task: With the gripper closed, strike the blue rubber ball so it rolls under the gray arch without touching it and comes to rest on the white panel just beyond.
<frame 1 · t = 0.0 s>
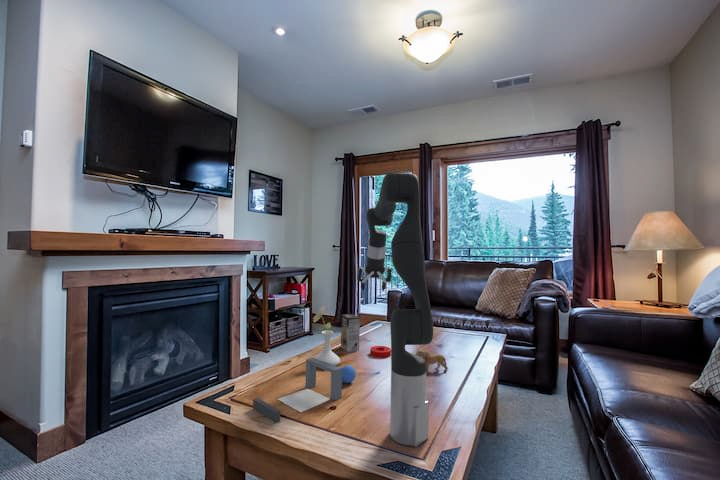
hand: (373, 289, 146), 31 cm above the table, tool tilted 20°, fingers open, 8 cm apart
flower in vase: (325, 366, 141), on the table
lion figurine: (431, 372, 137), on the table
white panel: (304, 399, 109), on the table
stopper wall: (265, 415, 99), on the table
gray arch: (322, 392, 115), on the table
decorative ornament: (380, 355, 157), on the table
coffee box: (349, 349, 165), on the table
ball: (347, 374, 124), on the table
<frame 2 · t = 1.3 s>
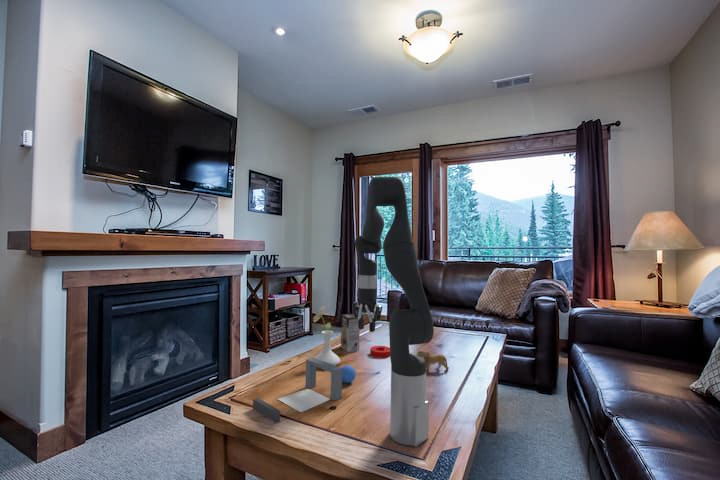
hand: (366, 330, 132), 17 cm above the table, tool pointing down, fingers open, 5 cm apart
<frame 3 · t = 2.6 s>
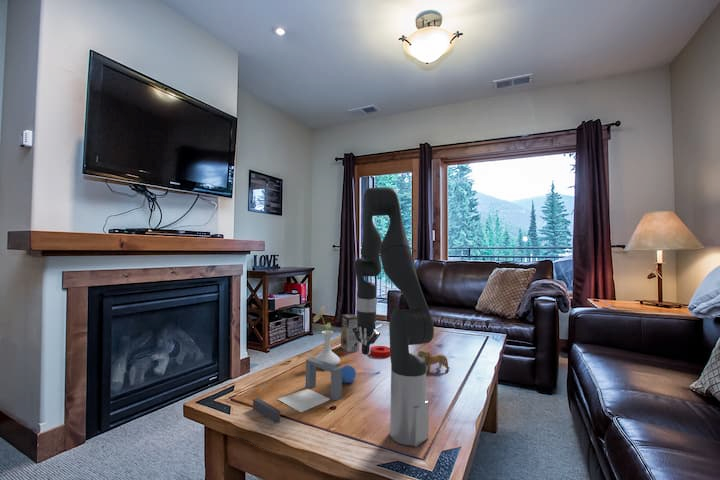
hand: (365, 354, 132), 8 cm above the table, tool pointing down, fingers closed
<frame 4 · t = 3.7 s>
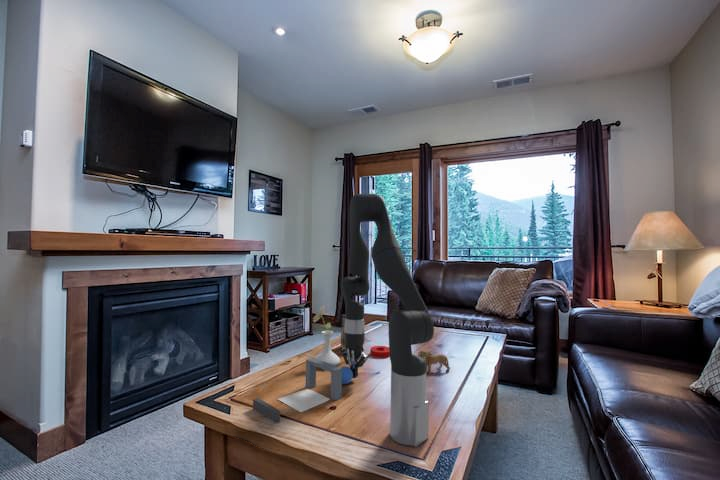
hand: (353, 377, 125), 1 cm above the table, tool pointing down, fingers closed
ball: (344, 375, 123), on the table
everything else where it was.
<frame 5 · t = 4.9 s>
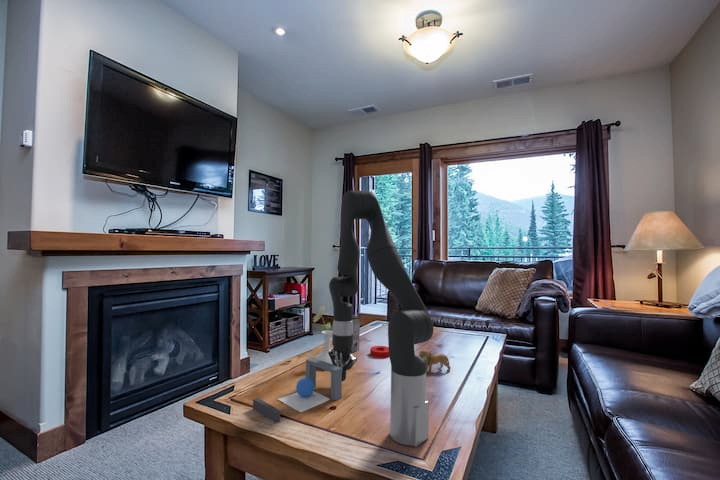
hand: (341, 380, 122), 2 cm above the table, tool pointing down, fingers closed
ball: (305, 387, 112), on the table
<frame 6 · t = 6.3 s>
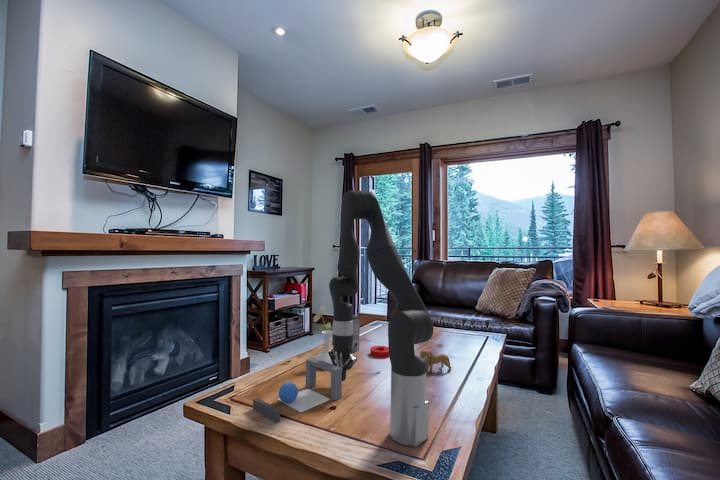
hand: (341, 380, 122), 2 cm above the table, tool pointing down, fingers closed
ball: (288, 392, 107), on the table
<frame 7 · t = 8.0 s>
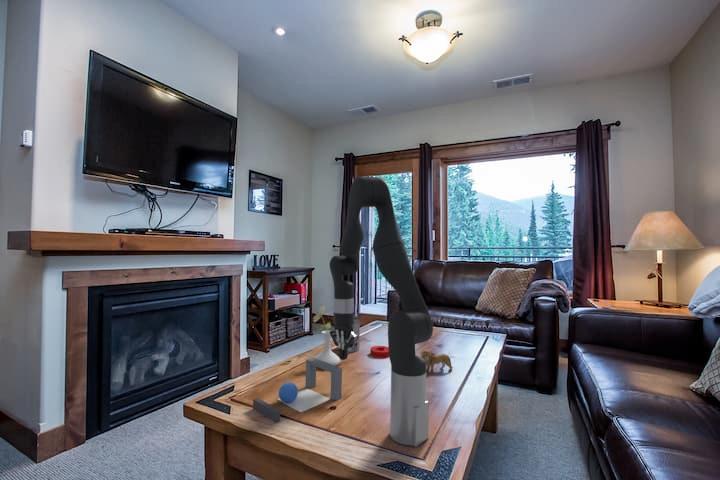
hand: (343, 359, 122), 9 cm above the table, tool pointing down, fingers closed
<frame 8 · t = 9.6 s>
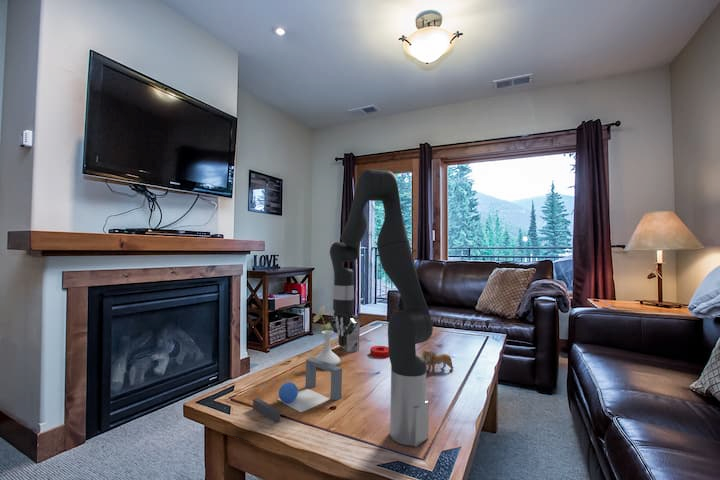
hand: (342, 345, 122), 14 cm above the table, tool pointing down, fingers closed
at the end: ball 5.1 cm from the white panel (horizontally); ball never touched gray arch; ball at rest at the end (0.0 cm/s) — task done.
